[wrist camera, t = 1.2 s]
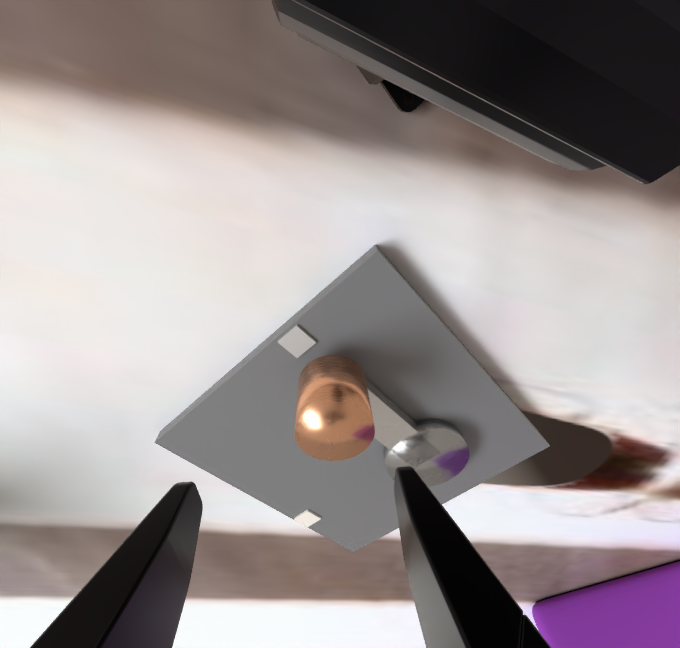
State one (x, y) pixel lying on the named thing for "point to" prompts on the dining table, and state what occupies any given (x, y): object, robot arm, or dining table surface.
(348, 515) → the mount plate
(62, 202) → the dining table surface
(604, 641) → the shopping bag
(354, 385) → the crank
